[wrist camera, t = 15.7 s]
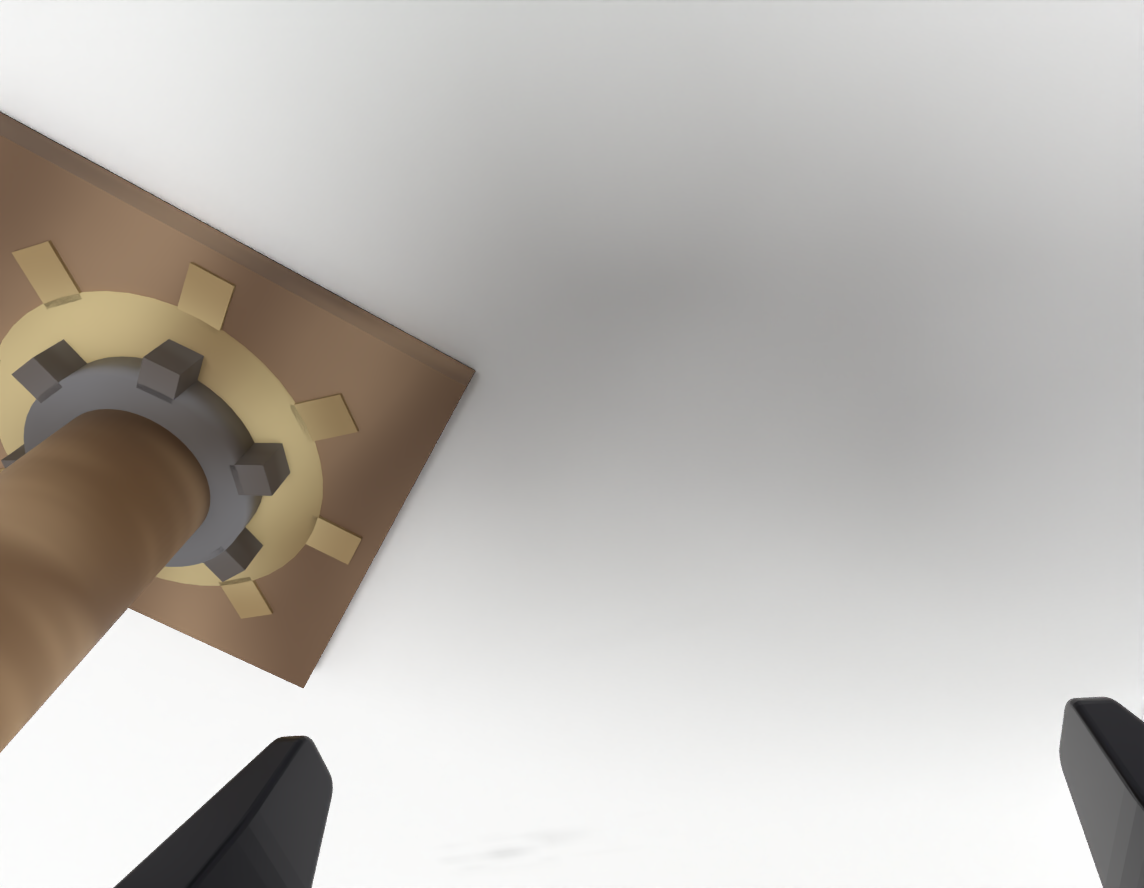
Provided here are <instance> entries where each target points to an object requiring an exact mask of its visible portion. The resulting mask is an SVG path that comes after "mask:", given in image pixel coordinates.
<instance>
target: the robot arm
mask: <svg viewBox="0 0 1144 888" xmlns="http://www.w3.org/2000/svg"><path fill="white" fill-rule="evenodd" d="M1059 753H1060V761H1061V766H1062V770H1063V773H1064V776H1065V779H1066V782H1067V785H1068V788H1069V791H1070V793H1071V796H1072V799H1073V802H1074V805H1075V808H1076V811H1077V814H1078V816H1079V819H1080V822H1081V825H1082V828H1083V831H1084V834H1085V837H1086V840H1087V842H1088V845H1089V848H1090V851H1091V854H1092V857H1093V860H1094V863H1095V865H1096V868H1097V871H1098V874H1099V877H1100V880H1101V883H1102V886H1103V888H1144V722H1143V721H1142V720H1140V719H1139V718H1138V717H1136V716H1135V715H1134V714H1133V713H1131V712H1130V711H1129V710H1127V709H1126V708H1125V707H1123V706H1122V705H1121V704H1120V703H1118V702H1117V701H1115V700H1113V699H1111V698H1108V697H1089V698H1073V699H1070V700H1069V701H1068V702H1067V703H1066V706H1065V710H1064V718H1063V725H1062V733H1061V740H1060V748H1059ZM332 790H333V785H332V778H331V775H330V773H329V771H328V769H327V767H326V765H325V763H324V761H323V759H322V757H321V755H320V753H319V751H318V750H317V748H316V746H315V744H314V742H313V741H312V739H310V738H309V737H307V736H287V737H280V738H278V739H276V740H274V741H273V742H272V743H271V744H269V745H268V746H267V747H266V748H265V749H264V750H263V751H262V752H261V753H260V754H259V755H258V756H256V757H255V758H254V759H253V760H252V761H251V762H250V763H249V764H248V765H247V766H246V767H244V768H243V769H242V770H241V771H240V772H239V773H238V774H237V775H236V776H235V777H234V778H232V779H231V780H230V781H229V782H228V783H227V784H226V785H225V786H224V787H223V788H222V789H221V790H219V791H218V792H217V793H216V794H215V795H214V796H213V797H212V798H211V799H210V800H209V801H207V802H206V803H205V804H204V805H203V806H202V807H201V808H200V809H199V810H198V811H197V812H195V813H194V814H193V815H192V816H191V817H190V818H189V819H188V820H187V821H186V822H185V823H184V824H182V825H181V826H180V827H179V828H178V829H177V830H176V831H175V832H174V833H173V834H172V835H170V836H169V837H168V838H167V839H166V840H165V841H164V842H163V843H162V844H161V845H160V846H158V847H157V848H156V849H155V850H154V851H153V852H152V853H151V854H150V855H149V856H148V857H146V858H145V859H144V860H143V861H142V862H141V863H140V864H139V865H138V866H137V867H136V868H135V869H133V870H132V871H131V872H130V873H129V874H128V875H127V876H126V877H125V878H124V879H123V880H121V881H120V882H119V883H118V884H117V885H116V886H115V887H114V888H312V883H313V879H314V874H315V870H316V865H317V861H318V856H319V852H320V847H321V843H322V838H323V834H324V829H325V825H326V820H327V816H328V811H329V807H330V802H331V798H332Z"/></svg>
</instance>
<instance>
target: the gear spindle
mask: <svg viewBox="0 0 1144 888" xmlns="http://www.w3.org/2000/svg"><path fill="white" fill-rule="evenodd" d="M203 358H204V356H203V355H201V354H199V353H197V352H195V351H193V350H191V349H189V348H187V347H185V346H183V345H181V344H179V343H176V342H174V341H172V340H170V339H168V340H167V341H165V342H164V343H162V344H161V345H159V346H158V347H157V348H155V349H154V350H152V351H151V352H150V353H148V354H147V355H145V356H144V357H143V358H138V357H124V356H120V357H108V358H103V359H99V360H95V361H92V362H90V363H86V362H85V361H84V360H83V359H82V358H81V357H80V356H79V354H78V353H77V352H76V351H75V350H74V349H73V348H72V347H71V346H70V345H69V344H68V343H67V342H66V341H65V340H64V339H63V340H62V341H60V342H58V343H56V344H55V345H53V346H51V347H50V348H48V349H46V350H45V351H43V352H41V353H39V354H38V355H36V356H34V357H33V358H31V359H30V360H29V361H28V362H26V363H25V364H24V365H23V366H21V367H20V368H19V369H18V370H16V371H15V372H14V373H13V374H11V375H12V376H13V377H14V378H15V379H16V380H17V381H18V382H20V383H21V384H22V385H23V386H24V387H25V388H26V389H27V390H28V391H29V392H30V393H31V394H32V395H33V396H34V397H35V398H36V400H35V402H34V403H33V404H32V406H31V408H30V410H29V412H28V414H27V417H26V421H25V426H24V444H23V445H22V446H20V447H19V448H18V449H16V450H15V451H13V452H12V453H11V454H9V455H8V456H6V457H5V458H4V459H2V460H1V461H2V463H3V465H4V467H5V469H4V470H3V471H1V472H0V752H1V751H2V750H3V749H4V748H5V747H6V746H7V745H8V743H9V742H10V741H11V740H12V739H13V738H14V737H15V735H16V734H17V733H18V732H19V731H20V730H21V729H22V728H23V726H24V725H25V724H26V723H27V722H28V721H29V720H30V718H31V717H32V716H33V715H34V714H35V713H36V712H37V710H38V709H39V708H40V707H41V706H42V705H43V704H44V703H45V701H46V700H47V699H48V698H49V697H50V696H51V695H52V693H53V692H54V691H55V690H56V689H57V688H58V687H59V686H60V684H61V683H62V682H63V681H64V680H65V679H66V678H67V676H68V675H69V674H70V673H71V672H72V671H73V670H74V669H75V667H76V666H77V665H78V664H79V663H80V662H81V661H82V659H83V658H84V657H85V656H86V655H87V654H88V653H89V652H90V650H91V649H92V648H93V647H94V646H95V645H96V644H97V642H98V641H99V640H100V639H101V638H102V637H103V636H104V635H105V633H106V632H107V631H108V630H109V629H110V628H111V627H112V625H113V624H114V623H115V622H116V621H117V620H118V619H119V618H120V616H121V615H122V614H123V613H124V612H125V611H126V610H127V608H128V607H129V606H130V605H131V604H132V603H133V602H134V601H135V599H136V598H137V597H138V596H139V595H140V594H141V593H142V591H143V590H144V589H145V588H146V587H147V586H148V585H149V583H150V582H151V581H152V580H153V579H154V578H155V577H156V576H157V574H158V573H159V572H160V571H161V570H162V569H163V568H164V566H165V567H184V566H191V565H196V564H200V563H204V564H205V565H206V566H207V567H208V568H209V569H210V570H211V571H212V572H213V573H214V574H215V575H216V576H217V577H218V578H219V579H220V580H221V581H222V582H224V581H226V580H228V579H229V578H231V577H233V576H235V575H237V574H239V573H241V572H243V571H245V570H246V568H247V567H248V566H249V564H250V563H251V562H252V560H253V559H254V558H255V556H256V555H257V553H258V552H259V551H260V549H261V548H262V547H263V545H262V544H261V543H260V542H259V541H258V539H257V538H256V537H255V536H254V535H253V534H252V533H251V532H250V531H249V530H248V529H247V528H246V525H247V524H248V523H249V522H250V520H251V519H252V517H253V516H254V515H255V513H256V512H257V509H258V507H259V505H260V503H261V499H262V496H272V495H273V494H274V493H275V492H276V490H277V489H278V488H279V487H280V485H281V484H282V483H283V482H284V480H285V479H286V478H287V477H288V475H289V474H290V469H289V466H288V462H287V458H286V455H285V451H284V447H283V444H282V443H255V442H254V441H253V439H252V437H251V435H250V433H249V431H248V430H247V428H246V427H245V425H244V424H243V422H242V421H241V419H240V418H239V417H238V416H237V414H236V413H235V412H234V411H233V410H232V408H231V407H230V406H229V405H228V404H227V403H226V402H225V401H224V400H223V399H222V398H221V397H219V396H218V395H217V394H216V393H214V392H213V391H212V390H211V389H210V388H208V387H207V386H205V385H204V384H202V383H201V382H199V381H198V376H199V373H200V369H201V365H202V362H203Z"/></svg>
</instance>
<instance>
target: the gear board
mask: <svg viewBox="0 0 1144 888" xmlns="http://www.w3.org/2000/svg"><path fill="white" fill-rule="evenodd" d="M63 339H64V340H65V341H66V342H67V343H68V344H69V345H70V346H71V347H72V348H73V349H74V350H75V351H76V352H77V353H78V354H79V356H80V357H81V358H82V359H83V360H84V361H85V362H86V363H90V362H92V361H95V360H99V359H103V358H108V357H120V356H124V357H138V358H143V357H144V356H145V355H147V354H148V353H150V352H151V351H152V350H154V349H155V348H157V347H158V346H159V345H161V344H162V343H164V342H165V341H167V340H168V339H170V340H172V341H174V342H176V343H179V344H181V345H183V346H185V347H187V348H189V349H191V350H193V351H195V352H197V353H199V354H201V355H203V356H204V358H203V362H202V365H201V369H200V373H199V376H198V381H199V382H201V383H202V384H204V385H205V386H207V387H208V388H210V389H211V390H212V391H213V392H214V393H216V394H217V395H218V396H219V397H221V398H222V399H223V400H224V401H225V402H226V403H227V404H228V405H229V406H230V407H231V408H232V410H233V411H234V412H235V413H236V414H237V416H238V417H239V418H240V419H241V421H242V422H243V424H244V425H245V427H246V428H247V430H248V431H249V433H250V435H251V437H252V439H253V441H254V442H255V443H282V444H283V447H284V451H285V455H286V458H287V462H288V466H289V469H290V474H289V475H288V477H287V478H286V479H285V480H284V482H283V483H282V484H281V485H280V487H279V488H278V489H277V490H276V492H275V493H274V494H273V495H272V496H262V499H261V503H260V505H259V507H258V509H257V512H256V513H255V515H254V516H253V517H252V519H251V520H250V522H249V523H248V524H247V525H246V528H247V529H248V530H249V531H250V532H251V533H252V534H253V535H254V536H255V537H256V538H257V539H258V541H259V542H260V543H261V544H262V545H263V547H262V548H261V549H260V551H259V552H258V553H257V555H256V556H255V558H254V559H253V560H252V562H251V563H250V564H249V566H248V567H247V568H246V570H245V571H243V572H241V573H239V574H237V575H235V576H233V577H231V578H229V579H228V580H226V581H224V582H222V581H221V580H220V579H219V578H218V577H217V576H216V575H215V574H214V573H213V572H212V571H211V570H210V569H209V568H208V567H207V566H206V565H205V564H204V563H200V564H196V565H191V566H184V567H165V566H164V568H163V569H162V570H161V571H160V572H159V573H158V574H157V576H156V577H155V578H154V579H153V580H152V581H151V582H150V583H149V585H148V586H147V587H146V588H145V589H144V590H143V591H142V593H141V594H140V595H139V596H138V597H137V598H136V599H135V601H134V602H133V603H132V604H131V605H130V606H129V607H128V608H130V609H132V610H134V611H136V612H139V613H141V614H143V615H145V616H147V617H150V618H152V619H154V620H156V621H158V622H160V623H163V624H165V625H167V626H169V627H171V628H173V629H176V630H178V631H180V632H182V633H184V634H186V635H189V636H191V637H193V638H195V639H197V640H199V641H202V642H204V643H206V644H208V645H210V646H212V647H215V648H217V649H219V650H221V651H223V652H226V653H228V654H230V655H232V656H234V657H236V658H239V659H241V660H243V661H245V662H247V663H249V664H252V665H254V666H256V667H258V668H260V669H262V670H265V671H267V672H269V673H271V674H273V675H275V676H278V677H280V678H282V679H284V680H286V681H288V682H291V683H293V684H295V685H297V686H299V687H302V688H304V686H305V685H306V683H307V681H308V679H309V677H310V675H311V674H312V672H313V670H314V668H315V666H316V664H317V662H318V661H319V659H320V657H321V655H322V653H323V651H324V650H325V648H326V646H327V644H328V642H329V640H330V638H331V637H332V635H333V633H334V631H335V629H336V627H337V625H338V624H339V622H340V620H341V618H342V616H343V614H344V613H345V611H346V609H347V607H348V605H349V603H350V601H351V600H352V598H353V596H354V594H355V592H356V590H357V589H358V587H359V585H360V583H361V581H362V579H363V577H364V576H365V574H366V572H367V570H368V568H369V566H370V565H371V563H372V561H373V559H374V557H375V555H376V553H377V552H378V550H379V548H380V546H381V544H382V542H383V541H384V539H385V537H386V535H387V533H388V531H389V529H390V528H391V526H392V524H393V522H394V520H395V518H396V517H397V515H398V513H399V511H400V509H401V507H402V505H403V504H404V502H405V500H406V498H407V496H408V494H409V493H410V491H411V489H412V487H413V485H414V483H415V481H416V480H417V478H418V476H419V474H420V472H421V470H422V469H423V467H424V465H425V463H426V461H427V459H428V457H429V456H430V454H431V452H432V450H433V448H434V446H435V444H436V443H437V441H438V439H439V437H440V435H441V433H442V432H443V430H444V428H445V426H446V424H447V422H448V420H449V419H450V417H451V415H452V413H453V411H454V409H455V408H456V406H457V404H458V402H459V400H460V398H461V396H462V395H463V393H464V391H465V389H466V387H467V385H468V384H469V382H470V380H471V378H472V376H473V374H474V372H475V370H473V369H471V368H469V367H468V366H466V365H464V364H462V363H460V362H458V361H456V360H455V359H453V358H451V357H449V356H447V355H445V354H444V353H442V352H440V351H438V350H436V349H434V348H433V347H431V346H429V345H427V344H425V343H423V342H422V341H420V340H418V339H416V338H414V337H412V336H411V335H409V334H407V333H405V332H403V331H401V330H400V329H398V328H396V327H394V326H392V325H390V324H389V323H387V322H385V321H383V320H381V319H379V318H378V317H376V316H374V315H372V314H370V313H368V312H366V311H365V310H363V309H361V308H359V307H357V306H355V305H354V304H352V303H350V302H348V301H346V300H344V299H343V298H341V297H339V296H337V295H335V294H333V293H332V292H330V291H328V290H326V289H324V288H322V287H321V286H319V285H317V284H315V283H313V282H311V281H310V280H308V279H306V278H304V277H302V276H300V275H299V274H297V273H295V272H293V271H291V270H289V269H287V268H286V267H284V266H282V265H280V264H278V263H276V262H275V261H273V260H271V259H269V258H267V257H265V256H264V255H262V254H260V253H258V252H256V251H254V250H253V249H251V248H249V247H247V246H245V245H243V244H242V243H240V242H238V241H236V240H234V239H232V238H231V237H229V236H227V235H225V234H223V233H221V232H220V231H218V230H216V229H214V228H212V227H210V226H209V225H207V224H205V223H203V222H201V221H199V220H197V219H196V218H194V217H192V216H190V215H188V214H186V213H185V212H183V211H181V210H179V209H177V208H175V207H174V206H172V205H170V204H168V203H166V202H164V201H163V200H161V199H159V198H157V197H155V196H153V195H152V194H150V193H148V192H146V191H144V190H142V189H141V188H139V187H137V186H135V185H133V184H131V183H130V182H128V181H126V180H124V179H122V178H120V177H118V176H117V175H115V174H113V173H111V172H109V171H107V170H106V169H104V168H102V167H100V166H98V165H96V164H95V163H93V162H91V161H89V160H87V159H85V158H84V157H82V156H80V155H78V154H76V153H74V152H73V151H71V150H69V149H67V148H65V147H63V146H62V145H60V144H58V143H56V142H54V141H52V140H51V139H49V138H47V137H45V136H43V135H41V134H39V133H38V132H36V131H34V130H32V129H30V128H28V127H27V126H25V125H23V124H21V123H19V122H17V121H16V120H14V119H12V118H10V117H8V116H6V115H5V114H3V113H1V112H0V472H1V471H3V470H4V469H5V467H4V465H3V463H2V461H1V460H2V459H4V458H5V457H6V456H8V455H9V454H11V453H12V452H13V451H15V450H16V449H18V448H19V447H20V446H22V445H23V444H24V426H25V421H26V417H27V414H28V412H29V410H30V408H31V406H32V404H33V403H34V402H35V400H36V398H35V397H34V396H33V395H32V394H31V393H30V392H29V391H28V390H27V389H26V388H25V387H24V386H23V385H22V384H21V383H20V382H18V381H17V380H16V379H15V378H14V377H13V376H12V375H11V374H13V373H14V372H15V371H16V370H18V369H19V368H20V367H21V366H23V365H24V364H25V363H26V362H28V361H29V360H30V359H31V358H33V357H34V356H36V355H38V354H39V353H41V352H43V351H45V350H46V349H48V348H50V347H51V346H53V345H55V344H56V343H58V342H60V341H62V340H63Z"/></svg>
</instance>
